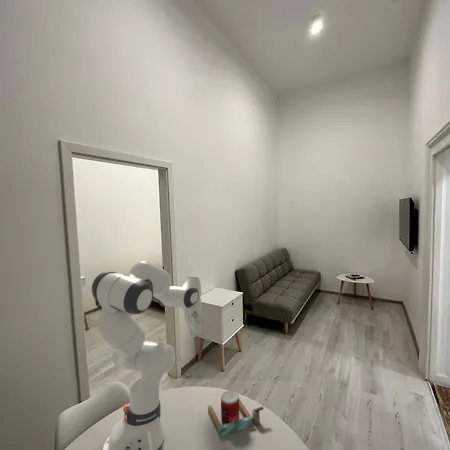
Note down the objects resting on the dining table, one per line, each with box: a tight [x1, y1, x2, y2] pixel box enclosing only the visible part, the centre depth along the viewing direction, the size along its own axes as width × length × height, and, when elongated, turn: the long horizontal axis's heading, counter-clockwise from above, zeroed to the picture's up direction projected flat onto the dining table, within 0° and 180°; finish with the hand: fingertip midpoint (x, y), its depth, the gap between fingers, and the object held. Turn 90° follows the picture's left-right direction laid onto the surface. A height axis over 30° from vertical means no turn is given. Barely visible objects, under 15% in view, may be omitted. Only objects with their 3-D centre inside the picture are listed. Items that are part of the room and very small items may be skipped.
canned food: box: [220, 390, 240, 425], centre depth 110 cm, size 8×8×11 cm
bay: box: [207, 398, 264, 438], centre depth 113 cm, size 20×15×6 cm
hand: (193, 336), depth 129 cm, fingers closed
